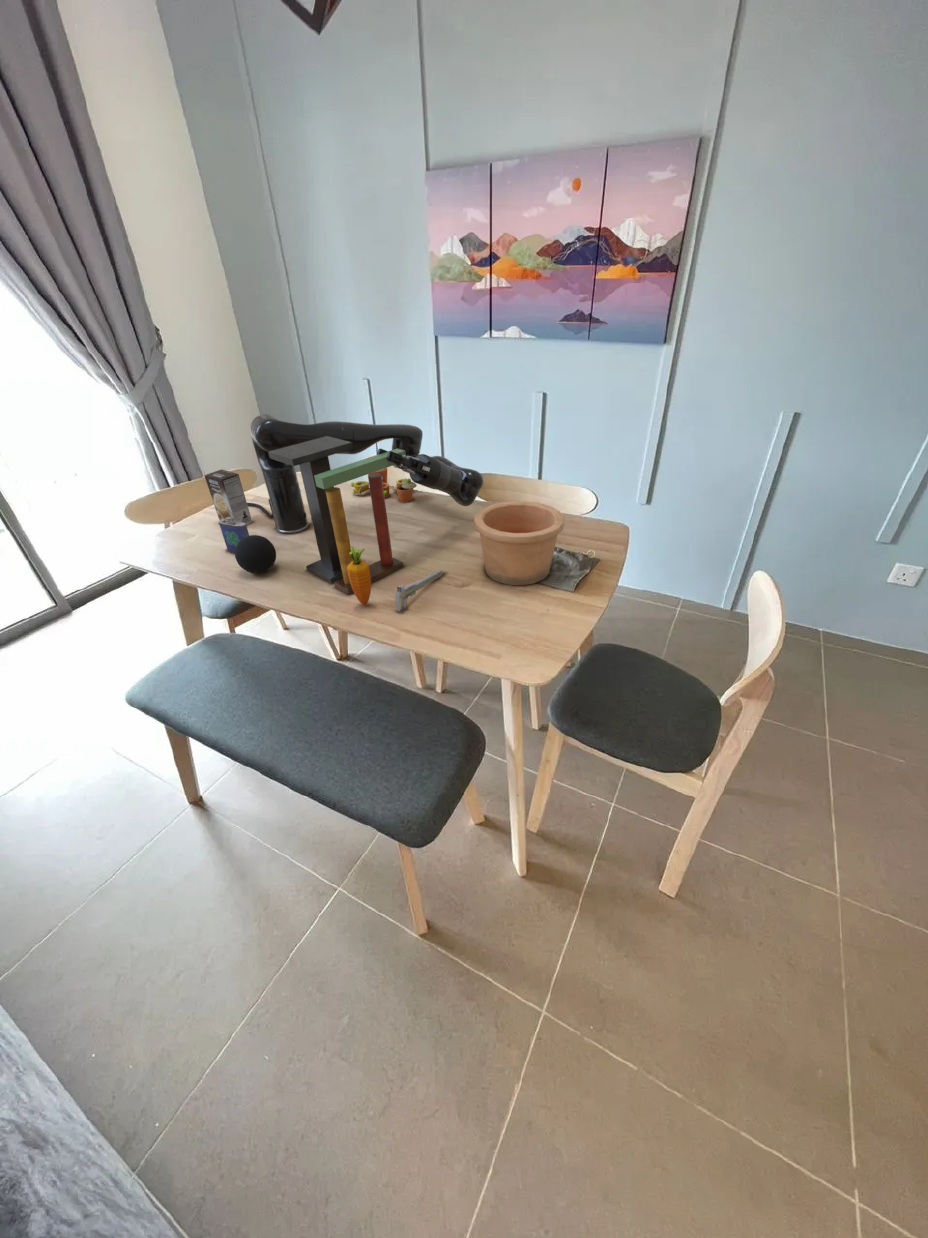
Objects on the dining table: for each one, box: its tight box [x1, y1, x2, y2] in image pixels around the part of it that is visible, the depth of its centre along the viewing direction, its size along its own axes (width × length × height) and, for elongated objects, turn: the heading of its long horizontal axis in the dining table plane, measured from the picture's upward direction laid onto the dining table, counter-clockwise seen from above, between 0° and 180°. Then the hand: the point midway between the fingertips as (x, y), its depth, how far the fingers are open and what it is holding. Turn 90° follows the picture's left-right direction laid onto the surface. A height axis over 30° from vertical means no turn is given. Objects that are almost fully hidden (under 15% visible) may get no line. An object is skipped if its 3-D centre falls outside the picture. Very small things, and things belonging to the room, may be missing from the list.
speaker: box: [234, 534, 277, 574], centre depth 129 cm, size 10×10×10 cm
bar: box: [314, 449, 406, 489], centre depth 113 cm, size 24×3×2 cm, turn 138°
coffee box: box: [204, 468, 253, 526], centre depth 155 cm, size 9×6×16 cm
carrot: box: [347, 546, 372, 607], centre depth 112 cm, size 5×5×15 cm
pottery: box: [473, 500, 565, 586], centre depth 123 cm, size 22×22×14 cm
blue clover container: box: [218, 516, 250, 554], centre depth 139 cm, size 9×3×11 cm, turn 68°
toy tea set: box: [350, 467, 418, 503], centre depth 174 cm, size 26×16×10 cm, turn 63°
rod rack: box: [326, 473, 404, 595], centre depth 120 cm, size 18×6×25 cm, turn 138°
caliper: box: [394, 569, 445, 612], centre depth 118 cm, size 20×1×6 cm, turn 152°
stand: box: [268, 436, 353, 585], centre depth 122 cm, size 16×11×32 cm
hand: (383, 454), depth 116 cm, fingers closed on bar, 3 cm apart
